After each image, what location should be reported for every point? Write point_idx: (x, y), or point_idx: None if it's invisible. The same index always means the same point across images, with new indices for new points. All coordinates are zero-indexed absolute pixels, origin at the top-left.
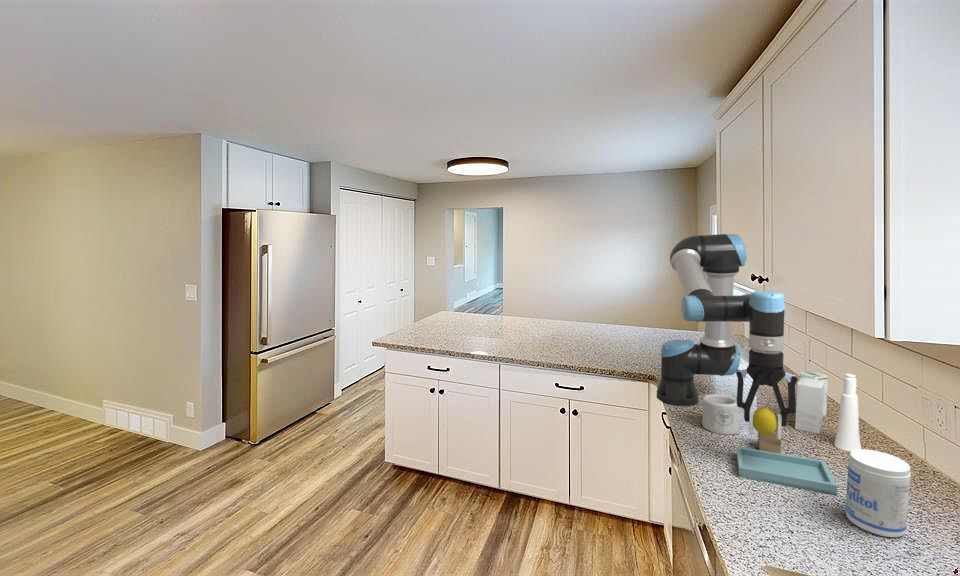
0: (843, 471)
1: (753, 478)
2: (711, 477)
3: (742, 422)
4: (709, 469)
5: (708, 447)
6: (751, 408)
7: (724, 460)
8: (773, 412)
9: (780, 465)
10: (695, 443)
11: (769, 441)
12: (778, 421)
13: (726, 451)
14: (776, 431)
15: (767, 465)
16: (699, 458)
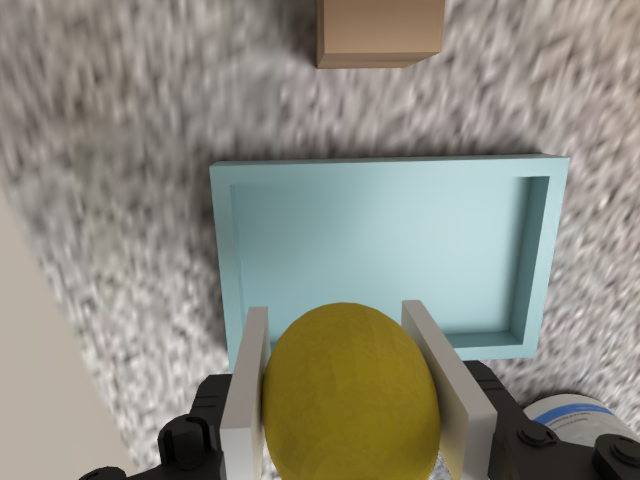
0: (610, 133)
1: None
2: (149, 394)
3: None
4: (133, 343)
5: (87, 132)
6: (242, 434)
7: (175, 242)
8: (432, 456)
9: (384, 220)
10: (17, 109)
11: (368, 60)
12: (440, 446)
13: (172, 142)
14: (408, 315)
15: (335, 243)
16: (77, 269)
